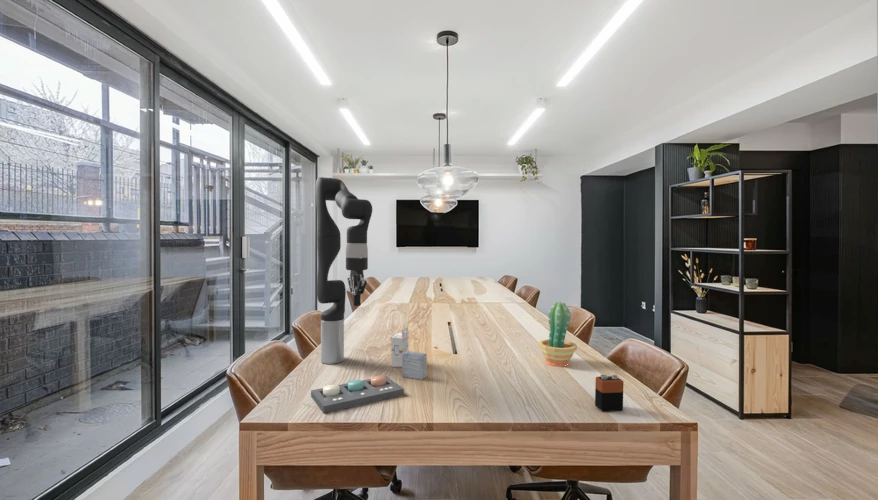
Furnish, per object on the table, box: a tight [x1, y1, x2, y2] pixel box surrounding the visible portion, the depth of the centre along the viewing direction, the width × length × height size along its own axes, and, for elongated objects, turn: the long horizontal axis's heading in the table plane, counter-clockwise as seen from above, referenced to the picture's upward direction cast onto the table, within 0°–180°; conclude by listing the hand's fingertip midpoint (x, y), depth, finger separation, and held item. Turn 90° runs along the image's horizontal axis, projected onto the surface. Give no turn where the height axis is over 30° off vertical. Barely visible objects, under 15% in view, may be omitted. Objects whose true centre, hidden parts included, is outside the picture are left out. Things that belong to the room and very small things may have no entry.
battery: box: [594, 374, 624, 412], centre depth 118 cm, size 4×7×10 cm, turn 96°
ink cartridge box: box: [390, 326, 409, 368], centre depth 158 cm, size 9×5×15 cm, turn 168°
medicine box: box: [402, 350, 428, 381], centre depth 144 cm, size 8×4×9 cm, turn 65°
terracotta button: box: [370, 375, 386, 387], centre depth 132 cm, size 5×5×3 cm
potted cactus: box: [538, 301, 578, 367], centre depth 161 cm, size 15×15×25 cm
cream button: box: [322, 384, 340, 398], centre depth 123 cm, size 5×5×3 cm
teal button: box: [347, 379, 364, 392], centre depth 127 cm, size 5×5×3 cm
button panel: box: [310, 375, 405, 414], centre depth 126 cm, size 14×26×2 cm, turn 122°
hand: (356, 305), depth 137 cm, fingers closed
